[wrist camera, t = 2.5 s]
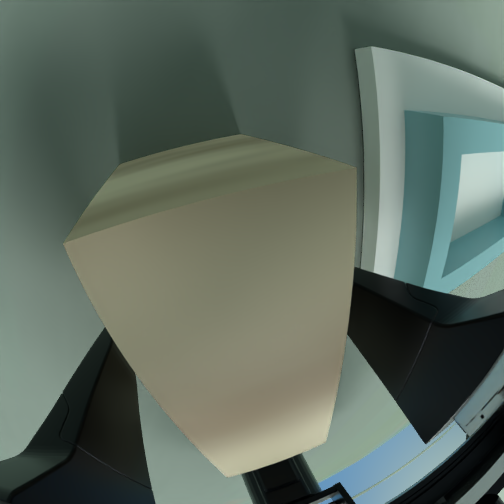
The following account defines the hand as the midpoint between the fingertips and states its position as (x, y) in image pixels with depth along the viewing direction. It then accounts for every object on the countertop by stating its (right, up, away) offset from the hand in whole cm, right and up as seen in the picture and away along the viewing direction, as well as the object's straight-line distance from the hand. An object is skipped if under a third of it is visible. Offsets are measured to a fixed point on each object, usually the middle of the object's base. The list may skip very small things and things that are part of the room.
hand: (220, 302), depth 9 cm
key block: (-1, +1, +1) cm, 2 cm away
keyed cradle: (+14, +6, +4) cm, 16 cm away
